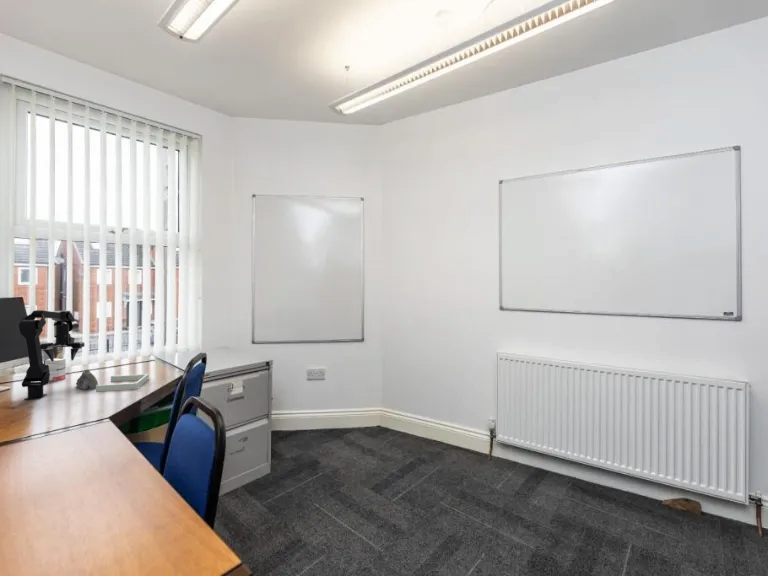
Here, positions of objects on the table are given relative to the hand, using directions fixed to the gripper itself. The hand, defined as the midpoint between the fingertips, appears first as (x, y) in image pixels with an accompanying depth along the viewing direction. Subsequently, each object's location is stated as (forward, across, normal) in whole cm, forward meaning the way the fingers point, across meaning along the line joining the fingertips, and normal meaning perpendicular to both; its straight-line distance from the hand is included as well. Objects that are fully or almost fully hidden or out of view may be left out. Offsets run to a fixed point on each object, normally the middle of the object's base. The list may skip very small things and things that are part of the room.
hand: (62, 360), depth 209 cm
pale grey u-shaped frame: (+14, -32, +8) cm, 36 cm away
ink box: (+13, +9, -12) cm, 20 cm away
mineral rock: (+14, -15, +8) cm, 22 cm away
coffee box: (+12, +21, -36) cm, 43 cm away
